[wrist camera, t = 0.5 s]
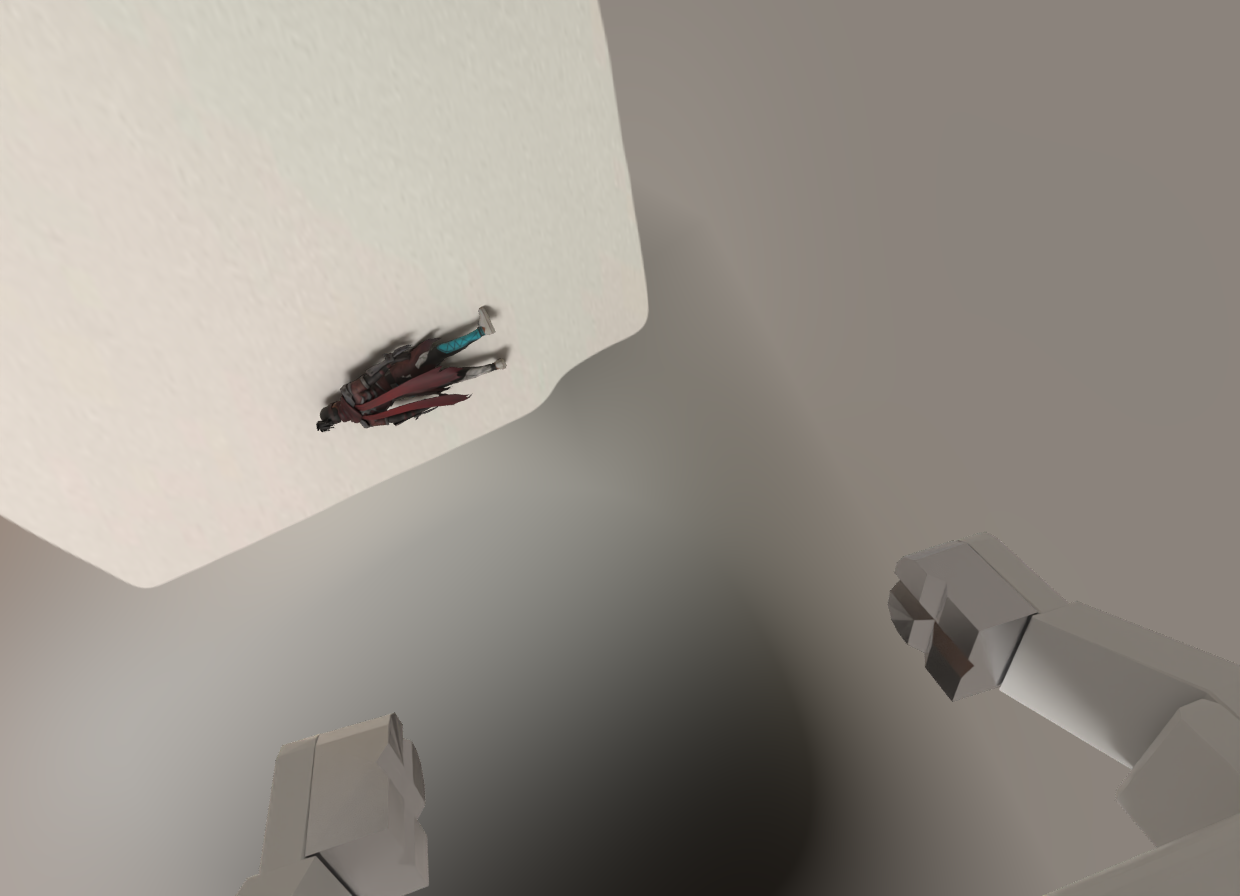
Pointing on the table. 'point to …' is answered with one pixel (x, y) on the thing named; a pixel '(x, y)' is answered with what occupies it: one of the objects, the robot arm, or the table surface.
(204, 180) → the table surface
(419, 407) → the action figure
